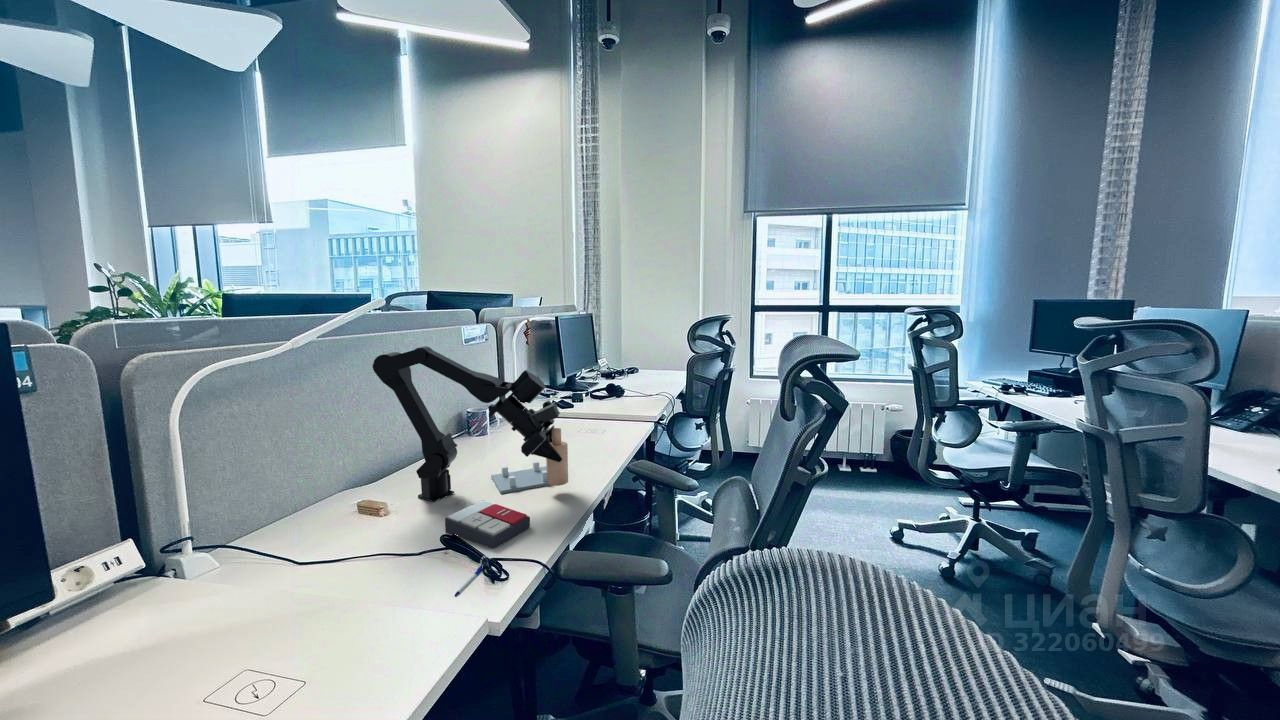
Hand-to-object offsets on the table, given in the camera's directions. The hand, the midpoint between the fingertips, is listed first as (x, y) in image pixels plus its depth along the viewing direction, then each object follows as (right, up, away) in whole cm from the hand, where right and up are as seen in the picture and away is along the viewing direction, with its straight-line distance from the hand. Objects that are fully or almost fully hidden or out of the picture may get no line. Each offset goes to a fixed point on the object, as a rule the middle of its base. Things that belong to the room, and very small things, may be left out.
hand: (562, 457), depth 128 cm
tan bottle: (-1, -7, +1) cm, 7 cm away
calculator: (-13, -13, -19) cm, 26 cm away
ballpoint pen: (-11, -15, -38) cm, 42 cm away
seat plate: (-12, -9, +10) cm, 18 cm away
